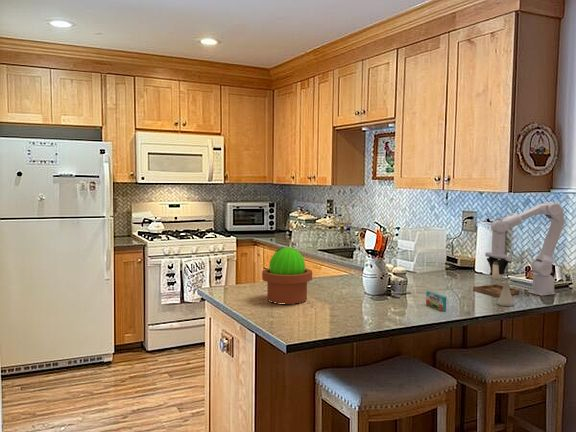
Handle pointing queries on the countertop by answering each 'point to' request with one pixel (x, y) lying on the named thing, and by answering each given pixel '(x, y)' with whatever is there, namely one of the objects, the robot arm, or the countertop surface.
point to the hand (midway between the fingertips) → (497, 273)
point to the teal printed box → (436, 300)
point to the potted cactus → (287, 277)
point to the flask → (505, 296)
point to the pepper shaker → (496, 271)
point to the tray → (493, 290)
